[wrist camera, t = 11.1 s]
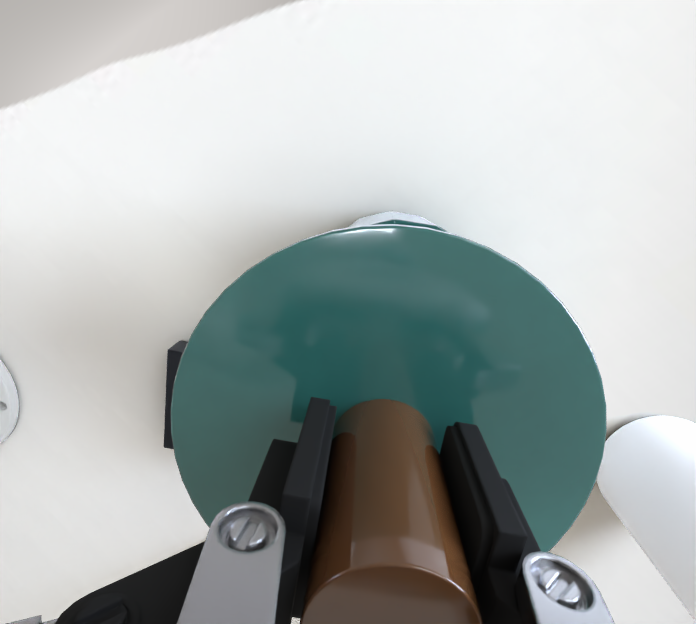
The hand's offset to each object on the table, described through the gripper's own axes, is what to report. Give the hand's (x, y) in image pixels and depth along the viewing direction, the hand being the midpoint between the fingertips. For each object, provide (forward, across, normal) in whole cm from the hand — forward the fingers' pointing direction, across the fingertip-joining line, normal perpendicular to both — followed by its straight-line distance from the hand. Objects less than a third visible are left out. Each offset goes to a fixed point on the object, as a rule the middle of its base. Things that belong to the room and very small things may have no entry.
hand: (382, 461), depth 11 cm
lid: (+1, 0, 0) cm, 1 cm away
